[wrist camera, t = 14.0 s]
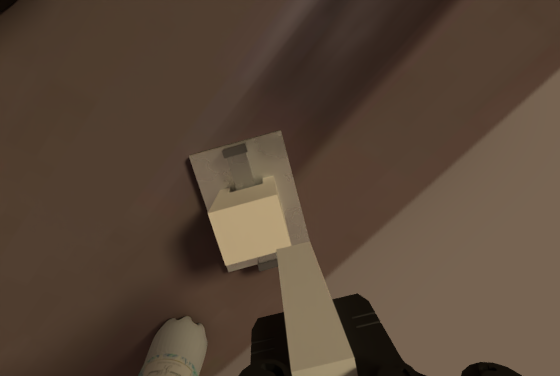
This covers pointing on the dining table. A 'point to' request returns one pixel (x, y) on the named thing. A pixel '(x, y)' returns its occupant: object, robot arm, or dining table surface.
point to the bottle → (176, 349)
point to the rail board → (252, 182)
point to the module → (249, 222)
